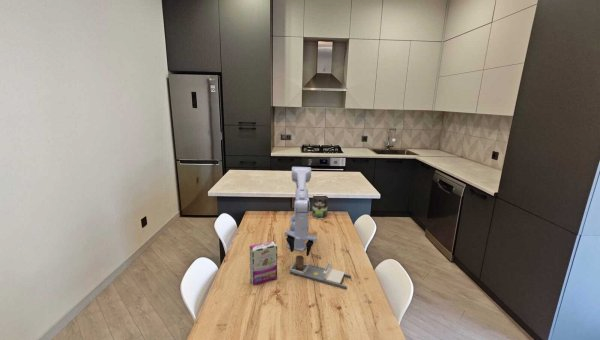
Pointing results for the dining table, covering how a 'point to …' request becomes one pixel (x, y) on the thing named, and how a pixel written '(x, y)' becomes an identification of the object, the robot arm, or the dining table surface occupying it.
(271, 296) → the dining table surface
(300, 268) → the peg
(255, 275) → the candy bar box
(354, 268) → the dining table surface
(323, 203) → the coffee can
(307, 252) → the robot arm
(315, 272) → the board
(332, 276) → the cover
